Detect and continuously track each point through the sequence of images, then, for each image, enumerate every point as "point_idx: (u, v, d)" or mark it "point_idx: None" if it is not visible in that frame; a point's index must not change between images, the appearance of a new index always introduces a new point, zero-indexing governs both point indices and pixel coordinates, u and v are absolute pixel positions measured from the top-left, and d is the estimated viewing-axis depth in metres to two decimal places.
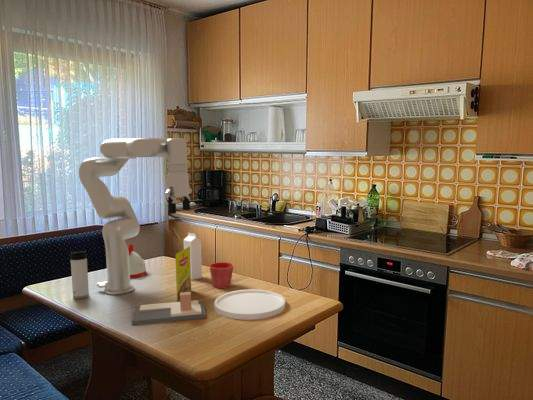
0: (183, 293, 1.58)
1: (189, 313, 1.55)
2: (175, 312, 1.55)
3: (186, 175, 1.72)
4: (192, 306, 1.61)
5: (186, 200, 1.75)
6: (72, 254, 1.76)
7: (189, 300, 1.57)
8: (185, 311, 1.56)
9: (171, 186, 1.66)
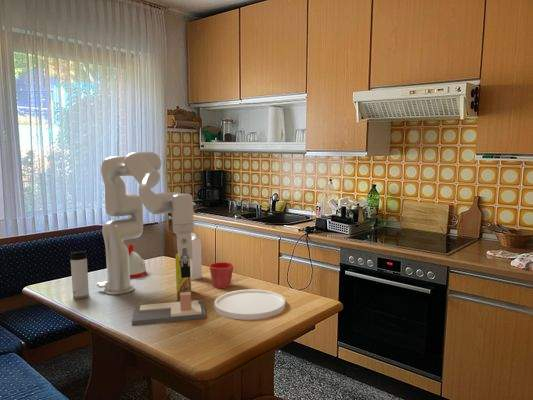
0: (183, 293, 1.58)
1: (189, 313, 1.55)
2: (175, 312, 1.55)
3: (177, 236, 1.52)
4: (192, 306, 1.61)
5: None
6: (72, 254, 1.76)
7: (189, 300, 1.57)
8: (185, 311, 1.56)
9: None
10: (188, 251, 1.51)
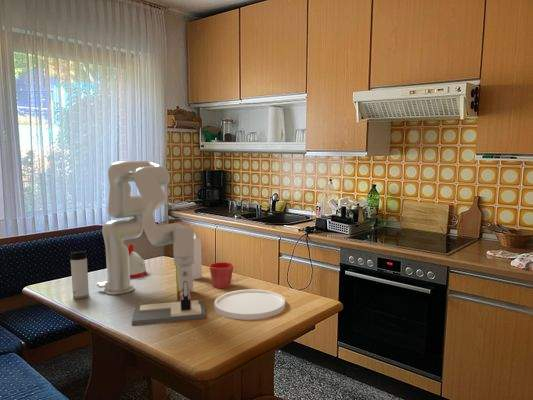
0: (183, 293, 1.58)
1: (189, 313, 1.55)
2: (175, 312, 1.55)
3: (178, 269, 1.53)
4: (192, 306, 1.61)
5: None
6: (72, 254, 1.76)
7: None
8: (185, 311, 1.56)
9: None
10: (189, 284, 1.52)
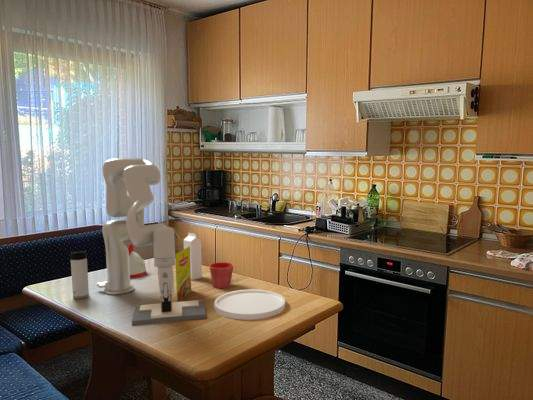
0: None
1: (169, 315, 1.53)
2: (155, 314, 1.53)
3: (158, 270, 1.52)
4: (173, 308, 1.59)
5: None
6: (72, 254, 1.76)
7: None
8: (165, 313, 1.54)
9: None
10: (169, 285, 1.51)
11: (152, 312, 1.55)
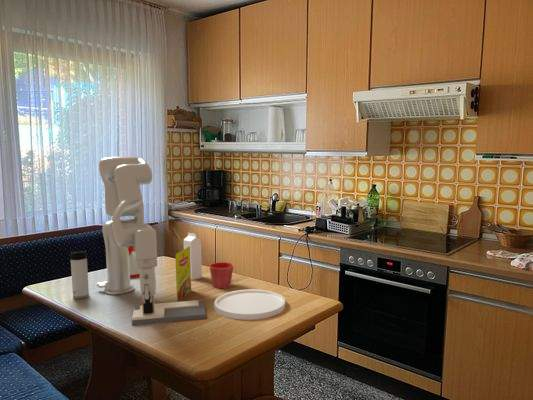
0: None
1: (151, 316, 1.52)
2: (137, 315, 1.52)
3: (139, 271, 1.51)
4: (156, 309, 1.58)
5: None
6: (72, 254, 1.76)
7: None
8: (147, 315, 1.53)
9: None
10: (150, 287, 1.49)
11: (134, 314, 1.54)
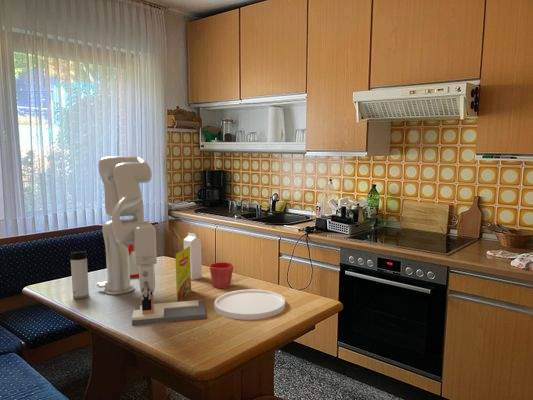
0: None
1: (151, 316, 1.52)
2: (137, 315, 1.52)
3: (139, 268, 1.51)
4: (155, 309, 1.58)
5: None
6: (72, 254, 1.76)
7: (151, 304, 1.54)
8: (147, 315, 1.53)
9: None
10: (149, 284, 1.50)
11: (133, 314, 1.54)
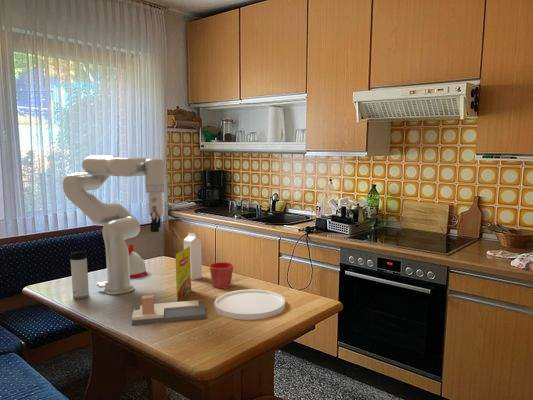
0: (145, 296, 1.55)
1: (151, 316, 1.52)
2: (137, 315, 1.52)
3: None
4: (155, 309, 1.58)
5: None
6: (72, 254, 1.76)
7: (151, 304, 1.54)
8: (147, 315, 1.53)
9: None
10: (157, 209, 1.71)
11: (133, 314, 1.54)
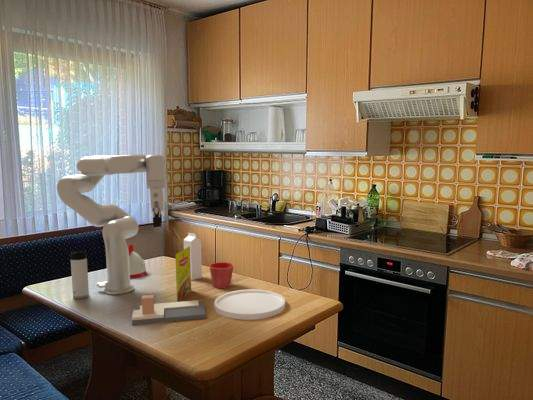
0: (145, 296, 1.55)
1: (151, 316, 1.52)
2: (137, 315, 1.52)
3: (150, 191, 1.75)
4: (155, 309, 1.58)
5: None
6: (72, 254, 1.76)
7: (151, 304, 1.54)
8: (147, 315, 1.53)
9: None
10: (159, 204, 1.74)
11: (133, 314, 1.54)
